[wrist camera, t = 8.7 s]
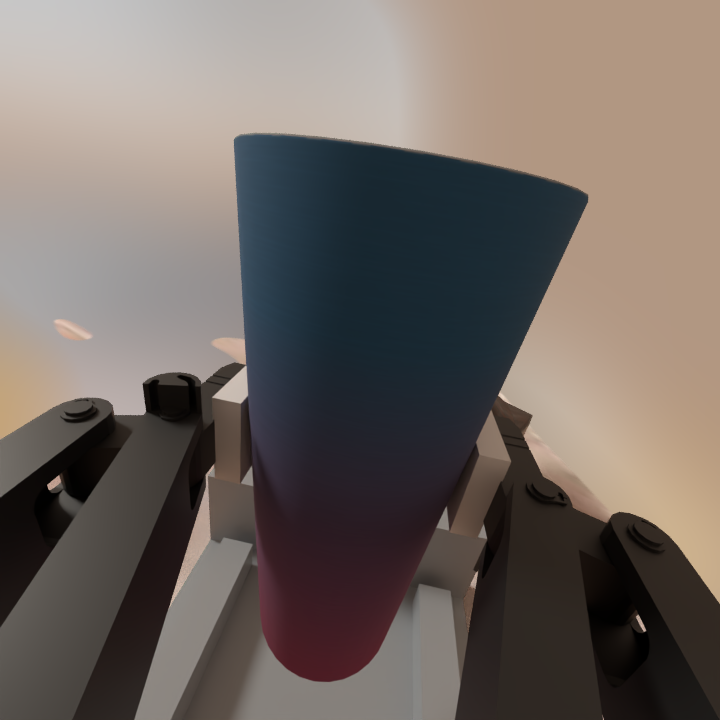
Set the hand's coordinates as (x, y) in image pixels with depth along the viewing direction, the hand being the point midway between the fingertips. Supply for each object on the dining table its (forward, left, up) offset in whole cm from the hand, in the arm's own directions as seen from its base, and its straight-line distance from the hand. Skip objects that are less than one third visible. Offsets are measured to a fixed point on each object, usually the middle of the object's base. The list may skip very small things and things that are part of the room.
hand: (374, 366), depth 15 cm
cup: (0, -5, -8) cm, 10 cm away
